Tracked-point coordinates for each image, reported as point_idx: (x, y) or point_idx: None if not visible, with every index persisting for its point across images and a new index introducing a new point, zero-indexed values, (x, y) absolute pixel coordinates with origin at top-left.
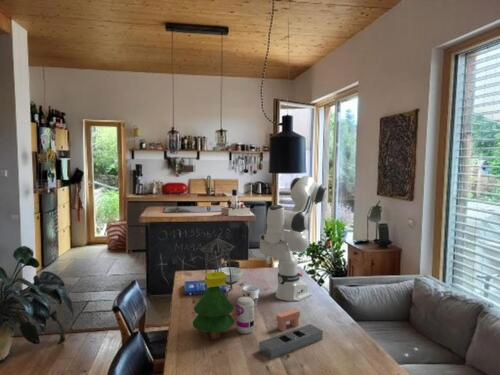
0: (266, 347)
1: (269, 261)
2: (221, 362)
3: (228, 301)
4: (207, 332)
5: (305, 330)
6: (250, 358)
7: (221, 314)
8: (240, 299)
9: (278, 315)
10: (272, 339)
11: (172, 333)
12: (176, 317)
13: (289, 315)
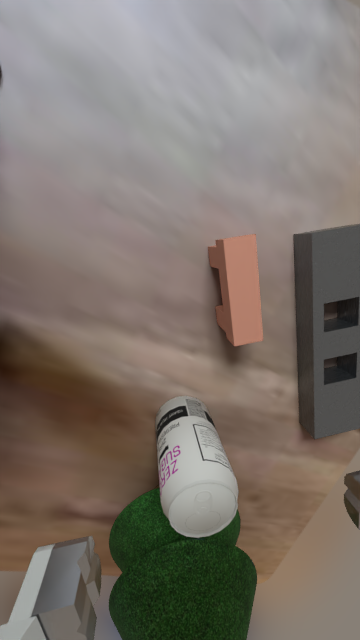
0: (344, 430)
1: (84, 590)
2: (293, 503)
3: (221, 590)
4: None
5: (338, 280)
6: (314, 449)
7: (255, 585)
8: (189, 526)
9: (244, 341)
10: (323, 402)
11: (119, 576)
12: (18, 566)
13: (258, 295)
